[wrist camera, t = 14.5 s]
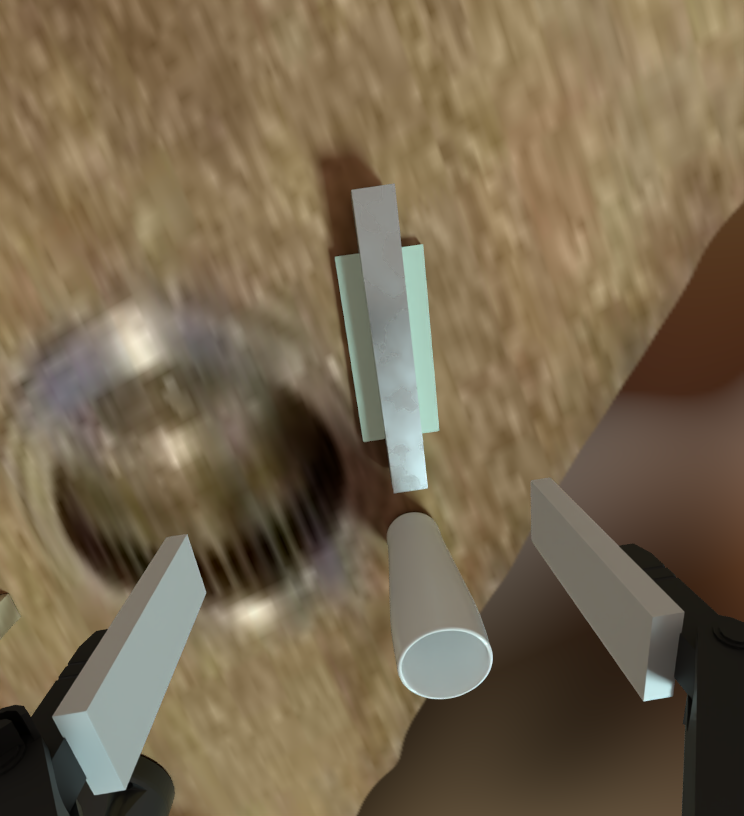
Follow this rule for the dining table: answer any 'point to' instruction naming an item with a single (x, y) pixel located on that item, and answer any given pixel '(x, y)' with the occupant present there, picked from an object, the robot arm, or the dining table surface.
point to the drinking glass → (432, 613)
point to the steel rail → (390, 332)
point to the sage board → (362, 344)
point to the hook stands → (7, 614)
